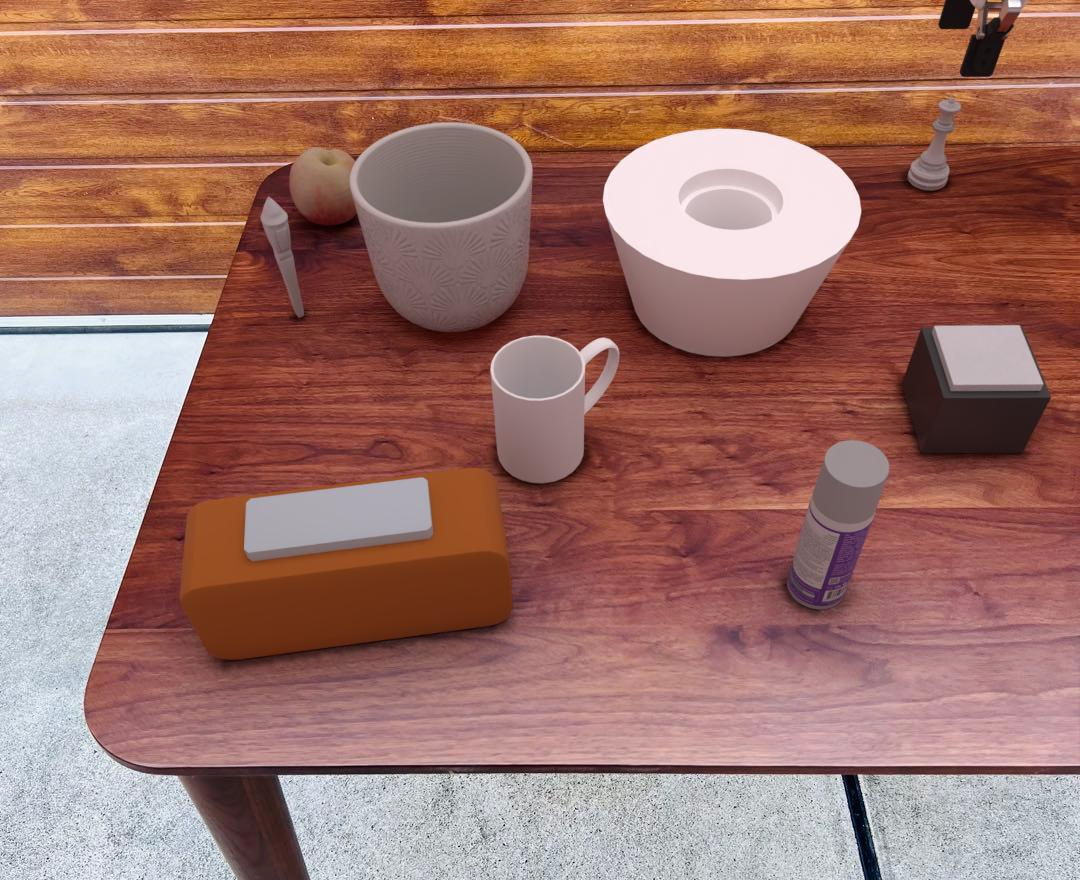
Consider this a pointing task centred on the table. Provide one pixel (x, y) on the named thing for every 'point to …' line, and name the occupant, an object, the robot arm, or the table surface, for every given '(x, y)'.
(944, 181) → the chess piece
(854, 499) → the container
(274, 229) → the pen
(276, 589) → the alarm clock
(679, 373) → the table surface
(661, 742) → the table surface
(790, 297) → the white tapered cylinder
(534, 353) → the mug
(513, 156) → the planter
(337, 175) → the fruit
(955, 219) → the table surface
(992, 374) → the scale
